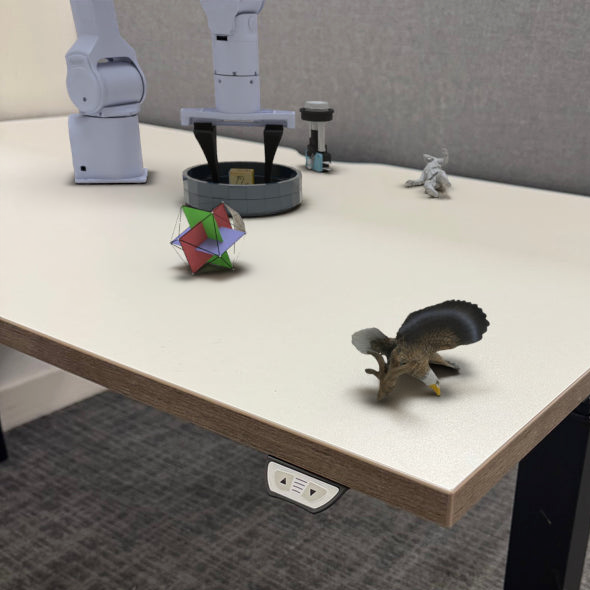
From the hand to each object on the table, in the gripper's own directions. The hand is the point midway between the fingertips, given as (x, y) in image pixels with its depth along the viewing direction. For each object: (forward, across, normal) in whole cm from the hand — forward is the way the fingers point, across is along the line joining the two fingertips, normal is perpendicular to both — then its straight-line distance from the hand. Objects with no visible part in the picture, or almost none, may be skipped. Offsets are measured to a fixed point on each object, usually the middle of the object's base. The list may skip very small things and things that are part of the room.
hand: (242, 182), depth 106 cm
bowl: (+2, 0, +3) cm, 4 cm away
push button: (+2, -11, -20) cm, 22 cm away
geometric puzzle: (+2, +1, +30) cm, 30 cm away
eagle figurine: (+2, -17, +57) cm, 60 cm away
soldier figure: (+2, -27, -8) cm, 28 cm away
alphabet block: (+2, 0, 0) cm, 2 cm away
